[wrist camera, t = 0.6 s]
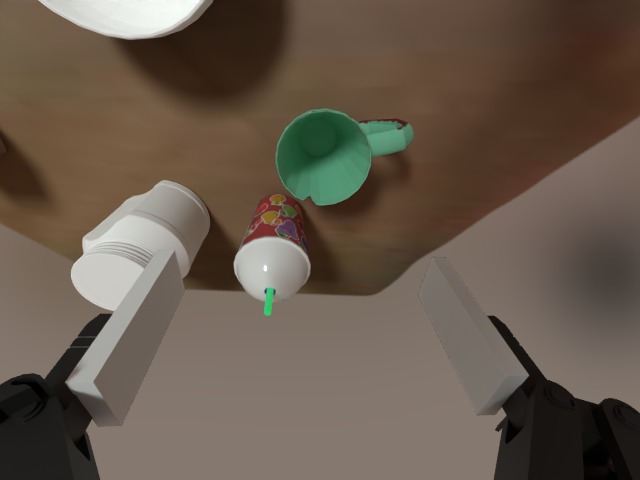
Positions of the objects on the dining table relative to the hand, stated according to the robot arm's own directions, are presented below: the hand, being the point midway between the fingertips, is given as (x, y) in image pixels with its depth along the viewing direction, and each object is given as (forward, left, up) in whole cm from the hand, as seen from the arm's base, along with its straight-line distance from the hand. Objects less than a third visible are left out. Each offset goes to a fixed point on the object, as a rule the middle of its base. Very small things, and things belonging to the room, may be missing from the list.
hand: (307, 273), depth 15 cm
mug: (-1, +4, -27) cm, 27 cm away
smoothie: (+11, -3, -27) cm, 29 cm away
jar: (+13, -19, -27) cm, 35 cm away
